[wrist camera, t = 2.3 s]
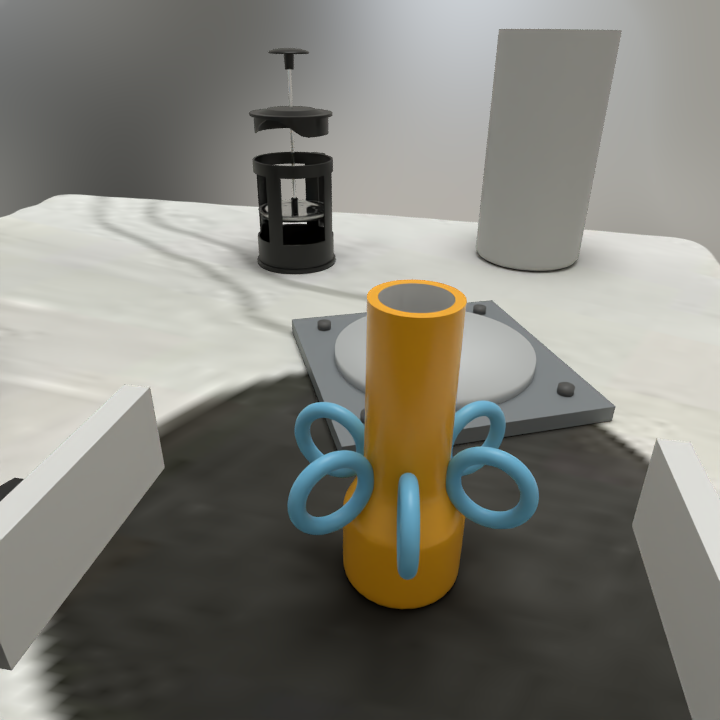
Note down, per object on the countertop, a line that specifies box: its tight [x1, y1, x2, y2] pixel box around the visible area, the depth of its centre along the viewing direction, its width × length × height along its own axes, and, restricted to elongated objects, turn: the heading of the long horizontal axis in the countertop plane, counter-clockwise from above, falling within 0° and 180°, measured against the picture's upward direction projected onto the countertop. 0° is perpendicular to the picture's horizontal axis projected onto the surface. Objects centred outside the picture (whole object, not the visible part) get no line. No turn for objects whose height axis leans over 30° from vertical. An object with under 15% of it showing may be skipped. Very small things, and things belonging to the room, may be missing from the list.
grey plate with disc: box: [292, 300, 615, 452], centre depth 49 cm, size 20×20×2 cm
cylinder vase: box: [476, 29, 621, 271], centre depth 70 cm, size 12×12×25 cm
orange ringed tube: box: [288, 280, 539, 609], centre depth 28 cm, size 12×10×15 cm
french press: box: [249, 48, 335, 274], centre depth 68 cm, size 12×9×23 cm
